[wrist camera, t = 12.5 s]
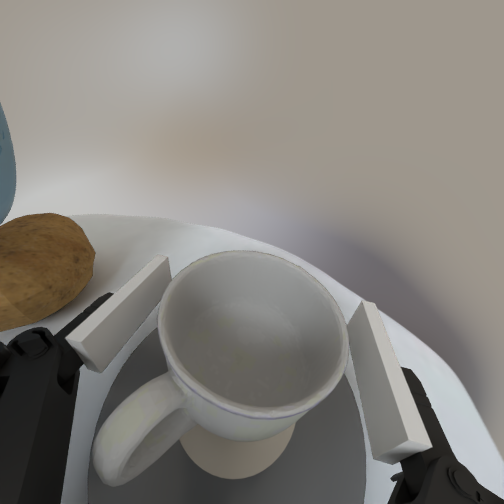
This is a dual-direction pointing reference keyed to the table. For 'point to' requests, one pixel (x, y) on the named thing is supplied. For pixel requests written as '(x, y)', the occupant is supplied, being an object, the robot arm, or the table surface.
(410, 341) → the table surface
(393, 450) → the robot arm
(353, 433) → the saucer
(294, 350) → the teacup
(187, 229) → the table surface
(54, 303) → the potato
